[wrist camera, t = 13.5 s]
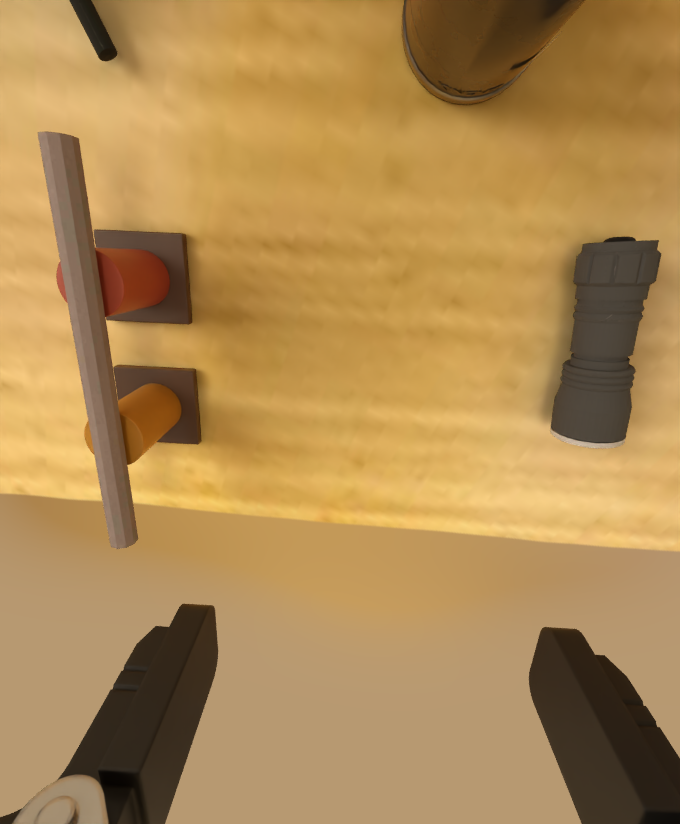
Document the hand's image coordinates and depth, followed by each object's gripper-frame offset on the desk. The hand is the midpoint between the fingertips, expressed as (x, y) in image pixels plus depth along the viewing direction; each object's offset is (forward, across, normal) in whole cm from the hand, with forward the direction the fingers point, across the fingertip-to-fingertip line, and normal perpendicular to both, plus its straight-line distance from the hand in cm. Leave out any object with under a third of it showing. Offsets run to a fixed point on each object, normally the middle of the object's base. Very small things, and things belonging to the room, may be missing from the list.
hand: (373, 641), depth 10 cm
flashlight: (+28, -19, -3) cm, 34 cm away
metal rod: (+20, +18, -1) cm, 27 cm away
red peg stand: (+28, +18, -6) cm, 34 cm away
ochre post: (+28, +18, +4) cm, 34 cm away
